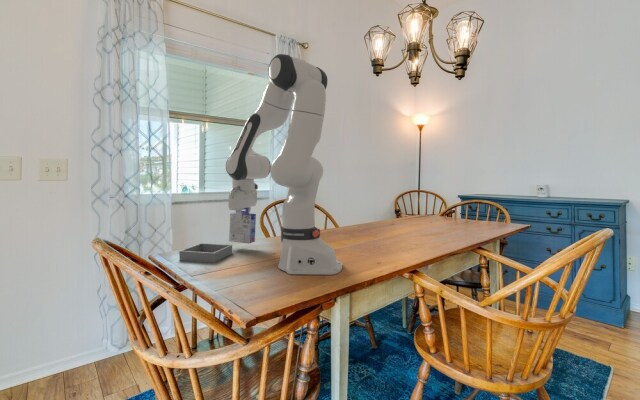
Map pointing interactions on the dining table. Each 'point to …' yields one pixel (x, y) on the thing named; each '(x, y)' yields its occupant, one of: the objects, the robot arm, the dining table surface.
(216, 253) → the bin
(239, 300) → the dining table surface
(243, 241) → the ink cartridge box
